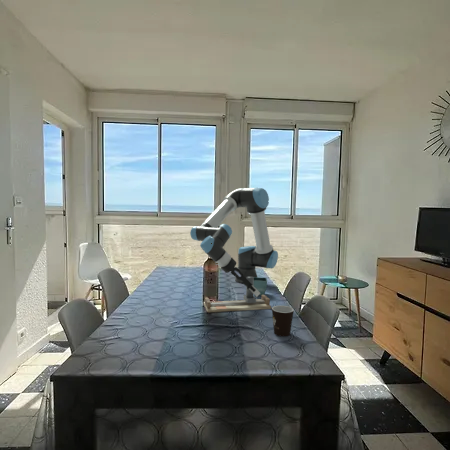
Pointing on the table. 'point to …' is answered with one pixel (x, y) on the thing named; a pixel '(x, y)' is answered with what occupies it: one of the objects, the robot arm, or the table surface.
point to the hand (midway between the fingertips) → (257, 293)
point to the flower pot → (260, 284)
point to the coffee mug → (282, 320)
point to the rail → (237, 305)
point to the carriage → (249, 295)
